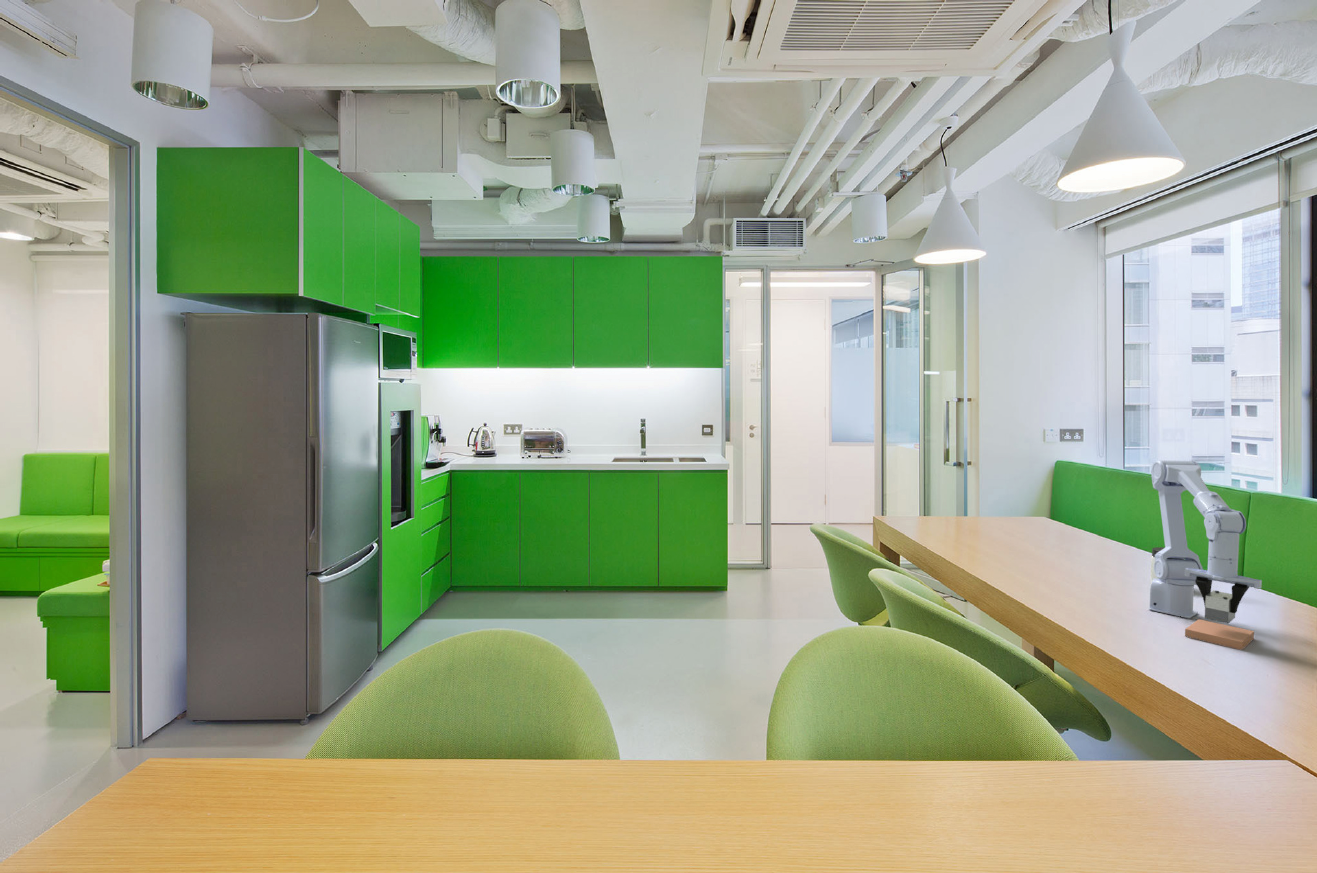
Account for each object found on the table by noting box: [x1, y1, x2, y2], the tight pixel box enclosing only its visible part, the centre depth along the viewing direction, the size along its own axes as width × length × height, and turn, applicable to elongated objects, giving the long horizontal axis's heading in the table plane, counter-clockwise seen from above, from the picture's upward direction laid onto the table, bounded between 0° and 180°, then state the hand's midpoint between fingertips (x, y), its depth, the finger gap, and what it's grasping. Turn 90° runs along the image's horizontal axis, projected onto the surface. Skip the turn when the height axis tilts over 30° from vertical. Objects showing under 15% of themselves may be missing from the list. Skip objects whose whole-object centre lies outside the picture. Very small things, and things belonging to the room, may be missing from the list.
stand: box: [1184, 618, 1255, 651], centre depth 160 cm, size 11×12×2 cm
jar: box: [1149, 546, 1185, 585], centre depth 204 cm, size 9×8×12 cm
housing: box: [1204, 590, 1236, 625], centre depth 160 cm, size 7×4×6 cm, turn 126°
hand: (1220, 609), depth 160 cm, fingers closed on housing, 4 cm apart
